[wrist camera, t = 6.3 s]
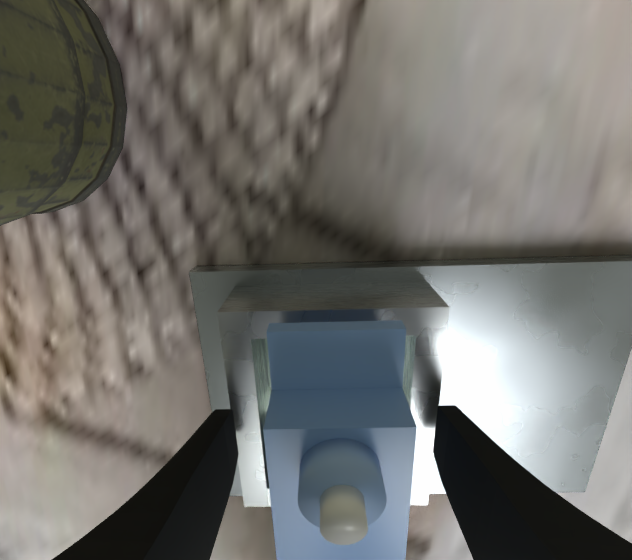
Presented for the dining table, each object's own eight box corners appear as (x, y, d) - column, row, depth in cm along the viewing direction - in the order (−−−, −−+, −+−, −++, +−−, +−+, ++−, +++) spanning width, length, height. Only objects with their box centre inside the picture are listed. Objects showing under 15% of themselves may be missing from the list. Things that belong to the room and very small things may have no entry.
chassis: (573, 477, 17) (628, 546, 14) (229, 482, 18) (210, 550, 15) (640, 254, 13) (737, 282, 10) (196, 266, 14) (160, 296, 11)
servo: (371, 450, 16) (412, 679, 9) (295, 451, 16) (276, 678, 9) (377, 273, 13) (446, 404, 6) (284, 275, 13) (242, 409, 6)
